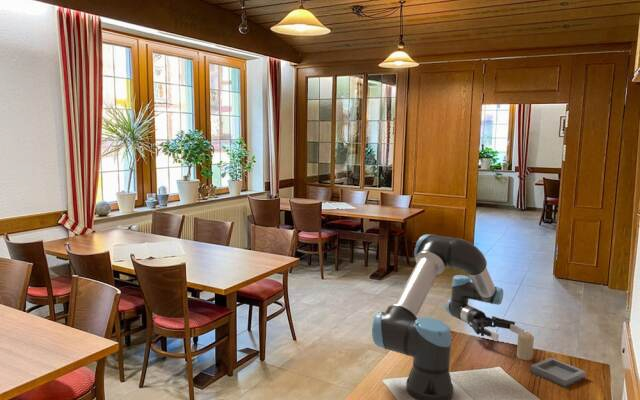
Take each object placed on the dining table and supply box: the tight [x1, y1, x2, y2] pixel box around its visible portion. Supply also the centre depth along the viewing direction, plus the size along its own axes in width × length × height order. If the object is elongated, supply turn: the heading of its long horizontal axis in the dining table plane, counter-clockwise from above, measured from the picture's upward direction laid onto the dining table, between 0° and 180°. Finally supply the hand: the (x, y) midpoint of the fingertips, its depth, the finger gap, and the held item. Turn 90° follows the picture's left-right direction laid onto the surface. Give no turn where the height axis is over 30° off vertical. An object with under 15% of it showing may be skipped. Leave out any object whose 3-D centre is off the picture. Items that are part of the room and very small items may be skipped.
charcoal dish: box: [529, 357, 587, 389], centre depth 173 cm, size 13×13×2 cm
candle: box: [516, 331, 535, 361], centre depth 186 cm, size 6×6×10 cm
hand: (510, 335), depth 193 cm, fingers open, 13 cm apart
